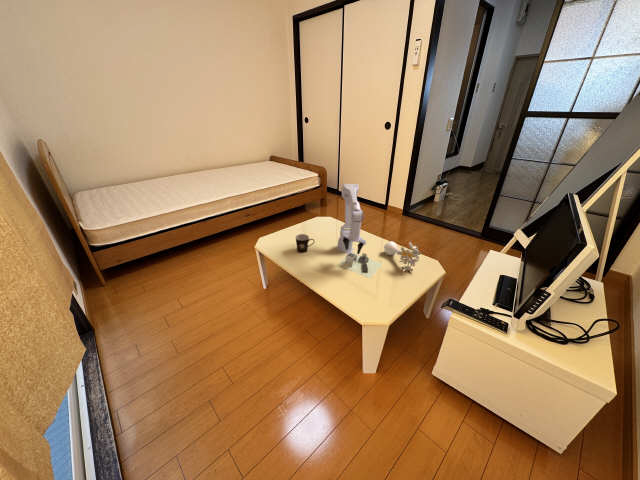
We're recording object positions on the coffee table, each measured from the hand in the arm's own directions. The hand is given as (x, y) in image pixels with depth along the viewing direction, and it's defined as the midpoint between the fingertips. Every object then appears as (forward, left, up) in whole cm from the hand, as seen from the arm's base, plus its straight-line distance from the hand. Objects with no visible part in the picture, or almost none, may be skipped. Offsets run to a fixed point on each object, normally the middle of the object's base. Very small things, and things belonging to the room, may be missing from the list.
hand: (352, 251), depth 147 cm
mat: (+5, +3, -9) cm, 11 cm away
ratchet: (+7, +4, -9) cm, 12 cm away
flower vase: (+23, +21, -10) cm, 32 cm away
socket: (0, 0, -9) cm, 9 cm away
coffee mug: (-32, -5, -10) cm, 34 cm away
